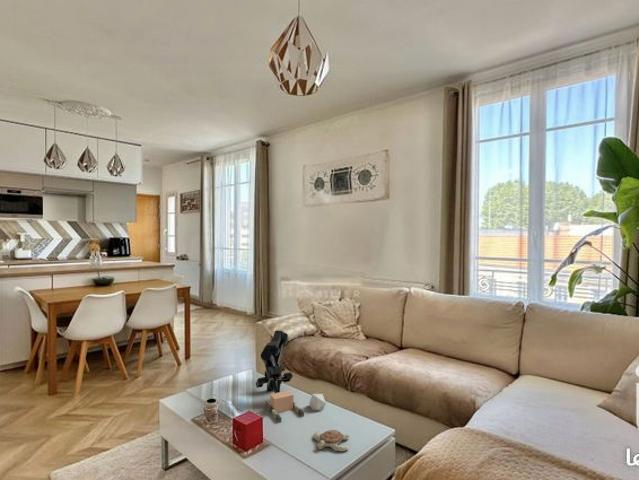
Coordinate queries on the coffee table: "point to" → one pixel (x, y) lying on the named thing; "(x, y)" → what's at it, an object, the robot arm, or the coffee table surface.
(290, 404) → the block
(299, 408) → the track
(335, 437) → the decorative turtle
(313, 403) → the die
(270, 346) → the robot arm
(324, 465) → the coffee table surface
